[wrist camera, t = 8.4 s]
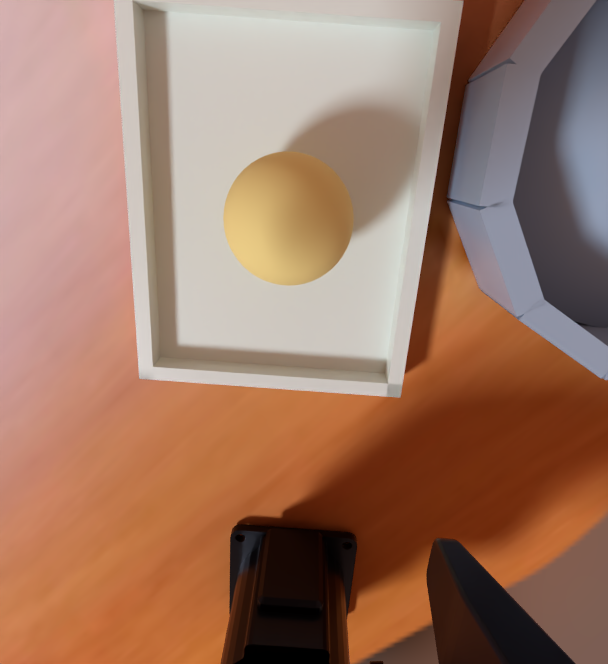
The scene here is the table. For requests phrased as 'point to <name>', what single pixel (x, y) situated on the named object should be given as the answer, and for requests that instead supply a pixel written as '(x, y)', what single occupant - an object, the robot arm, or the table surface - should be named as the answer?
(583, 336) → the bowl
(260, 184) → the ball
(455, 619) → the robot arm
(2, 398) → the table surface
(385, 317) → the tray
